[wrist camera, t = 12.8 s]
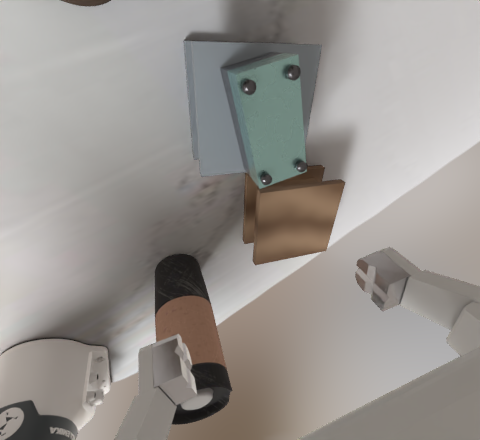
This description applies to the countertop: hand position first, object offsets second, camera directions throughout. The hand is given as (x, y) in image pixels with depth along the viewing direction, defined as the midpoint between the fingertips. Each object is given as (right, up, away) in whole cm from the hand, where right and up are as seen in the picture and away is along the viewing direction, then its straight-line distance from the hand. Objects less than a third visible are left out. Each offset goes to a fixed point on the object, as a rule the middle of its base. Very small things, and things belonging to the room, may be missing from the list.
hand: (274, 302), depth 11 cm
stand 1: (-1, +17, +20) cm, 26 cm away
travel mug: (-12, -5, +32) cm, 34 cm away
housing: (0, +14, +15) cm, 21 cm away
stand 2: (+5, +6, +30) cm, 31 cm away
